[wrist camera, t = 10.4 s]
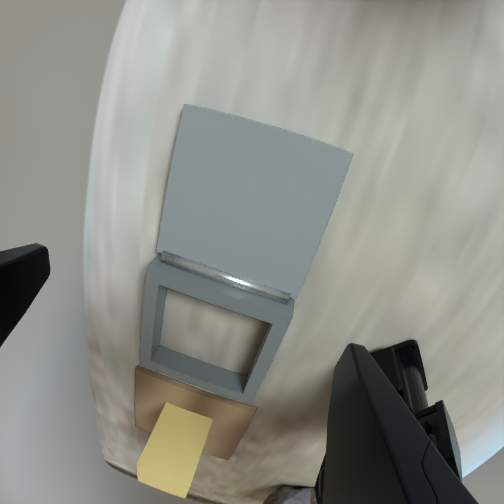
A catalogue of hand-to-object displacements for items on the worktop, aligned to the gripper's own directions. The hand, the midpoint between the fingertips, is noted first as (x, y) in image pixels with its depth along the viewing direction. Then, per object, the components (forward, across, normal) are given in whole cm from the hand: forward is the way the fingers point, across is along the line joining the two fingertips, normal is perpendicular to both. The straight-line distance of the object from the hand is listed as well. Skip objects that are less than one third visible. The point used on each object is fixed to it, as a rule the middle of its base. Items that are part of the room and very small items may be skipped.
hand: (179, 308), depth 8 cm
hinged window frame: (+12, 0, +7) cm, 14 cm away
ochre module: (+12, +1, +26) cm, 28 cm away
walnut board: (+12, +1, +26) cm, 29 cm away
